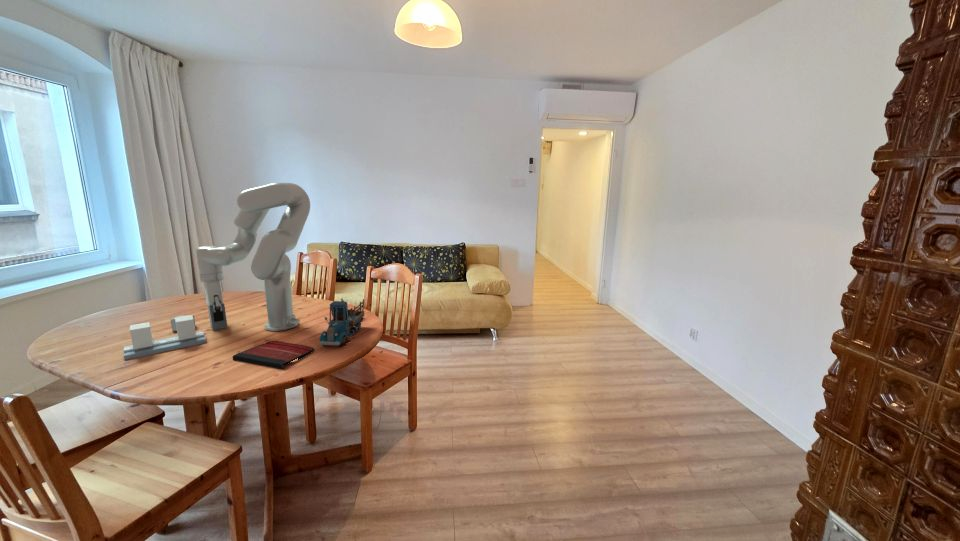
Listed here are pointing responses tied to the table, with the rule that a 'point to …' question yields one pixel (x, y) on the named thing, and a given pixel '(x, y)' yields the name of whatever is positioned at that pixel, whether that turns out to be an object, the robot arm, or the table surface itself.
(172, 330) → the power supply
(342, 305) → the toy truck
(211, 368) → the table surface
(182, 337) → the mounted modules
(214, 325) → the block
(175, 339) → the din rail
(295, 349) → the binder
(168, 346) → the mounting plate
